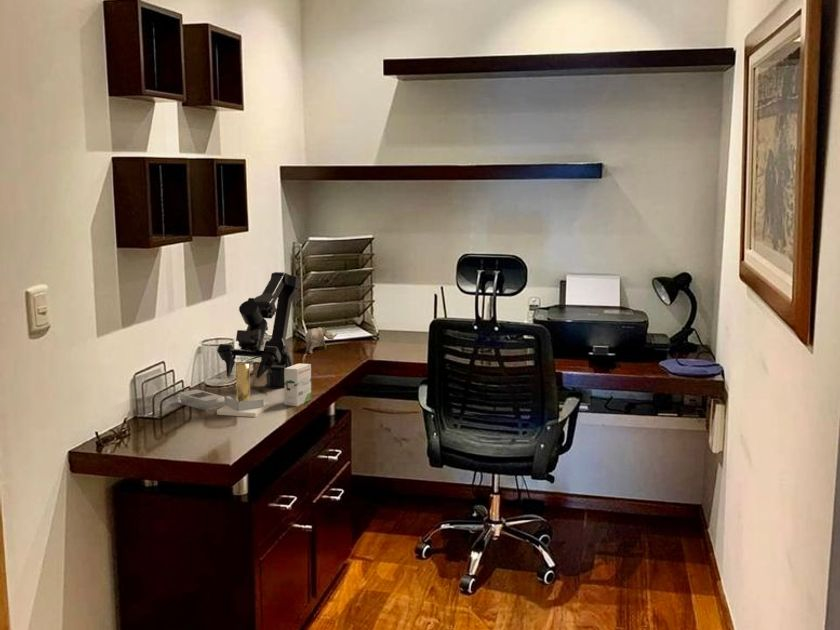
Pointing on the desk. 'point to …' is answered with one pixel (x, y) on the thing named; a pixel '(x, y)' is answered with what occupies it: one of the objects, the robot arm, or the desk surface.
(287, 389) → the ink box
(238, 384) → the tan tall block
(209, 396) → the grey socket block
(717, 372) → the desk surface
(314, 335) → the elephant figurine
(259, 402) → the v block
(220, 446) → the desk surface
